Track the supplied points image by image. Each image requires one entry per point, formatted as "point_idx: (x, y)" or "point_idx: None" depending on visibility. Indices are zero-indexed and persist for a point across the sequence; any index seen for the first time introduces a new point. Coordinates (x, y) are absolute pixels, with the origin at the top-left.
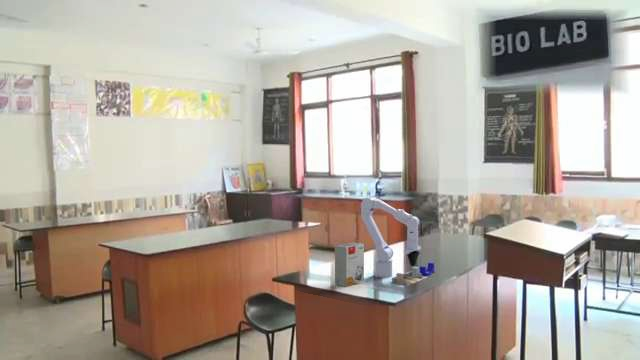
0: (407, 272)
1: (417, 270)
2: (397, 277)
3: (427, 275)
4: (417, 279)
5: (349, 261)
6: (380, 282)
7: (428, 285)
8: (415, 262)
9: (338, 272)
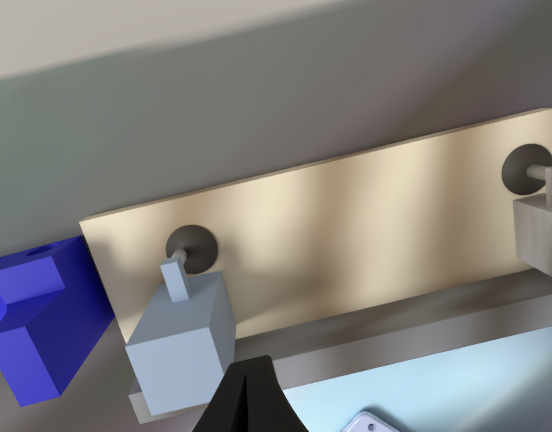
0: None
1: (190, 314)
2: None
3: (64, 246)
4: (266, 220)
5: None
6: (531, 397)
7: (309, 17)
8: (234, 388)
9: None
